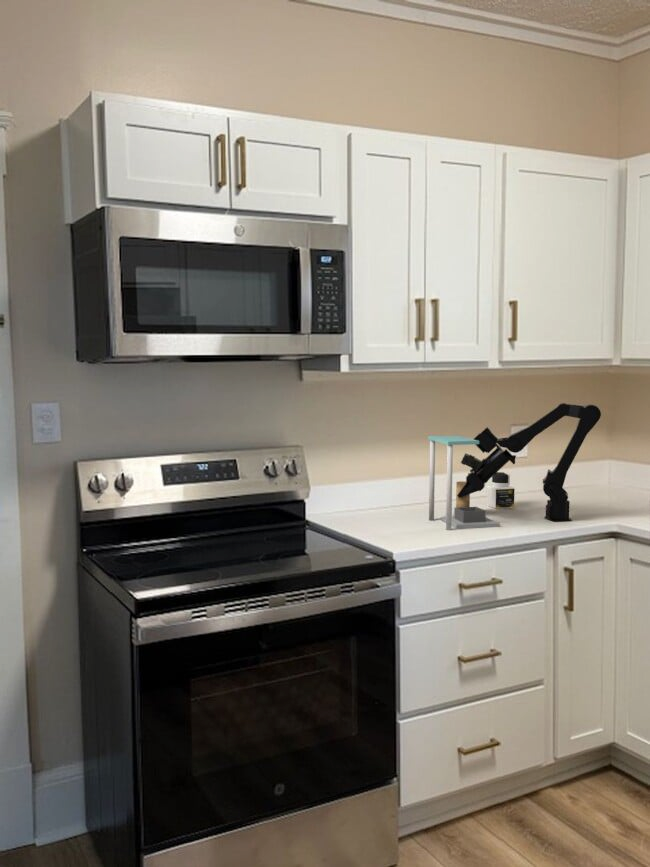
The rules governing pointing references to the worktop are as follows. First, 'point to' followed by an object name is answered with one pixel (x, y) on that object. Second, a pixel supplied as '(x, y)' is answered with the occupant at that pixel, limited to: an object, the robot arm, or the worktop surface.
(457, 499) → the tan domed cylinder
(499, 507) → the medicine bottle
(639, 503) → the worktop surface
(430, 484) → the awning socket
